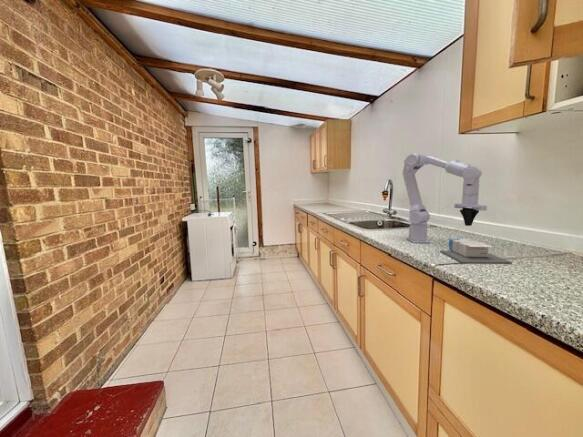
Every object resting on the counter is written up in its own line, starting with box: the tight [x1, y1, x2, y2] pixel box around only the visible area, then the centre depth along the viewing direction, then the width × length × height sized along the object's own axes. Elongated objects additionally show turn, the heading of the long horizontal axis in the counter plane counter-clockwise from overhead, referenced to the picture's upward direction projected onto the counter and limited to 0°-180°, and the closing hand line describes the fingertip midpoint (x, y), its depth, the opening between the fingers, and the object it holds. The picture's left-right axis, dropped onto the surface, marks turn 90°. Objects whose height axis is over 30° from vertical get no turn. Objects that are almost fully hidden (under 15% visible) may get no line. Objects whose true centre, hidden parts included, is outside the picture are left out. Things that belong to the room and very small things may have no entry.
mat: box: [439, 250, 513, 265], centre depth 99 cm, size 16×17×1 cm
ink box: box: [448, 238, 493, 257], centre depth 101 cm, size 8×5×15 cm
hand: (468, 225), depth 111 cm, fingers closed
